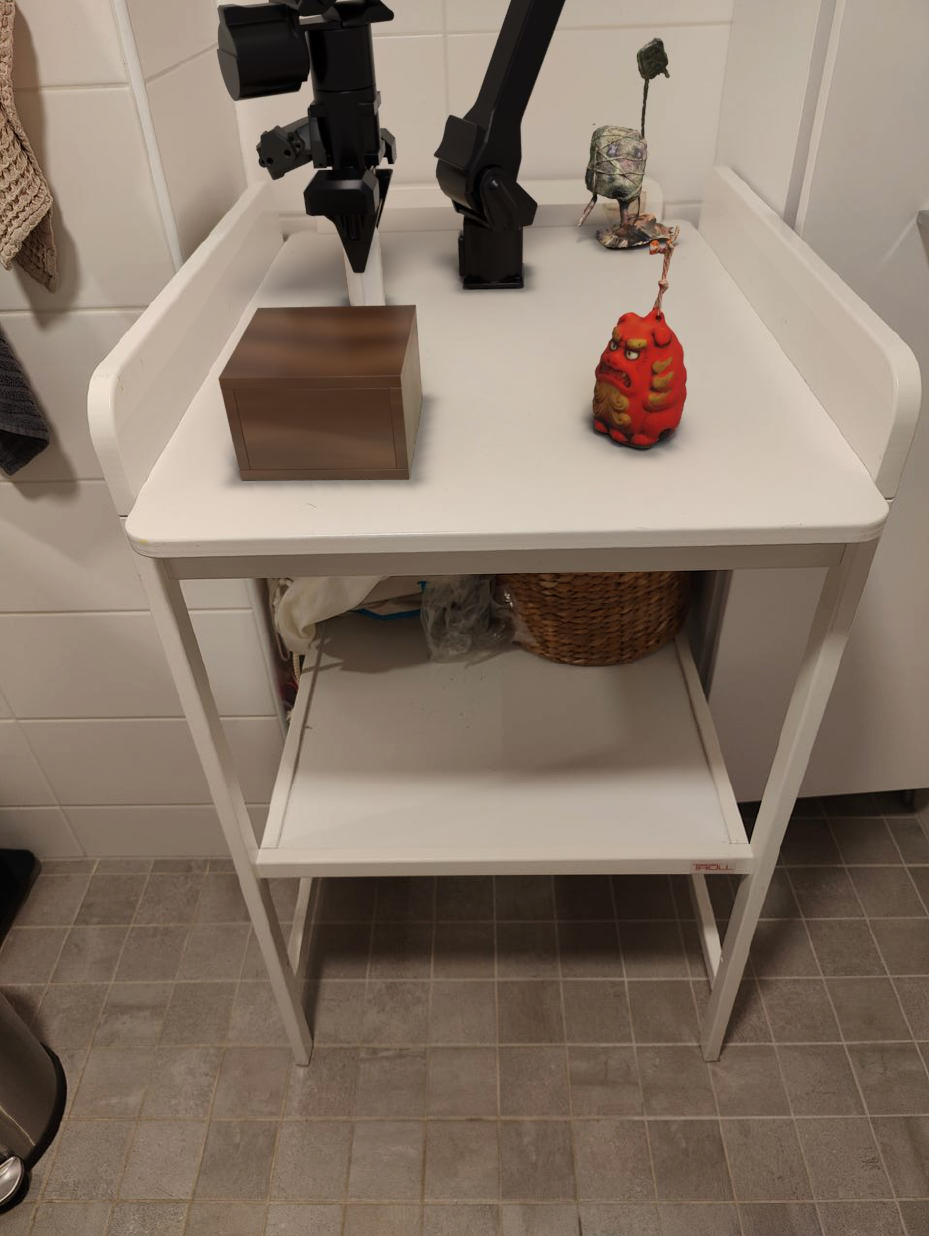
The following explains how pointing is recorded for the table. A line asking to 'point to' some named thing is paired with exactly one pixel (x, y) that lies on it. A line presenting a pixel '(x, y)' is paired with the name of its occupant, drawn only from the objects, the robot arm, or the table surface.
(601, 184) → the grey-green tall irregular figure
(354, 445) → the cabinet
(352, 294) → the eye dropper bottle
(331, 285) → the table surface
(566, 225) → the table surface
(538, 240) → the table surface
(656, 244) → the red clay folk toy
